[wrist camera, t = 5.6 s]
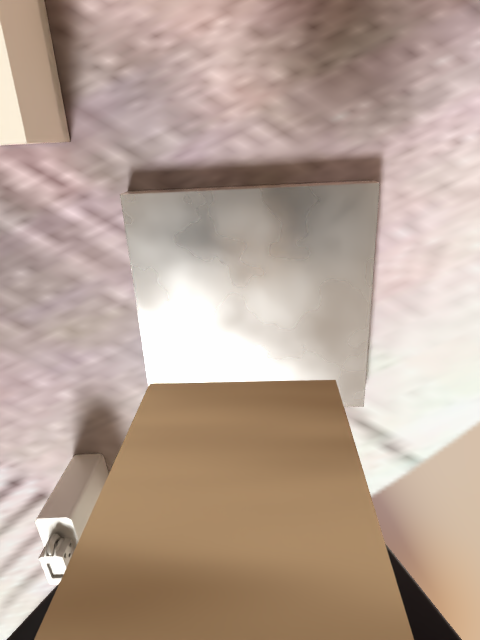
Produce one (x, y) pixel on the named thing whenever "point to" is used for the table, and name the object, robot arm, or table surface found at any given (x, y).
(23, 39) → the rectangular frame
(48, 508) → the lighter
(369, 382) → the table surface
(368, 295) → the base plate
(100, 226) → the table surface
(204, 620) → the strut
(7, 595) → the table surface
